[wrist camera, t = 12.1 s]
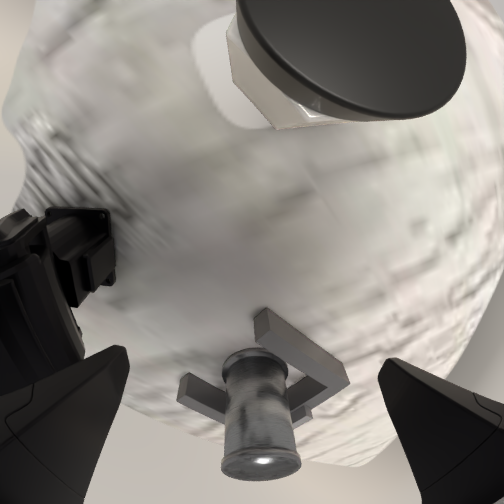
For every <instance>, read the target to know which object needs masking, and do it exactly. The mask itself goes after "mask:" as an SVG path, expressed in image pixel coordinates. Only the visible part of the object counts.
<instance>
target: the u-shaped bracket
mask: <svg viewBox="0 0 504 504" xmlns="http://www.w3.org/2000/svg"><path fill="white" fill-rule="evenodd" d="M254 331H255V342H256V343H257V344H259V345H261V346H262V347H264V348H265V349H267V350H268V351H270V352H271V353H273V354H274V355H276V356H277V357H279V358H281V359H282V360H284V361H285V362H287V363H288V364H290V365H292V366H293V367H295V368H297V369H298V370H300V371H301V372H303V373H305V374H306V375H308V376H306V377H305V378H303V379H302V380H301V381H299V382H298V383H296V384H295V385H293V386H292V387H290V388H289V389H287V396H288V402H289V408H290V414H291V420H292V426H293V429H295V428H297V427H299V426H301V425H302V424H304V423H306V422H308V421H309V420H311V419H313V417H312V412H311V409H313V408H314V407H316V406H318V405H319V404H321V403H322V402H324V401H326V400H327V399H329V398H330V397H332V396H333V395H335V394H336V393H338V392H339V391H341V390H342V389H344V388H345V387H347V386H348V385H349V384H350V381H349V379H348V376H347V374H346V371H345V369H344V366H343V364H342V362H340V361H339V360H337V359H336V358H335V357H333V356H332V355H330V354H329V353H328V352H326V351H325V350H324V349H322V348H321V347H319V346H318V345H317V344H315V343H314V342H313V341H311V340H310V339H309V338H307V337H306V336H304V335H303V334H302V333H300V332H299V331H298V330H296V329H295V328H294V327H292V326H291V325H290V324H288V323H287V322H286V321H284V320H283V319H282V318H280V317H279V316H278V315H276V314H275V313H274V312H272V311H271V310H270V309H268V308H266V309H265V310H263V311H262V312H261V313H260V314H259V315H258V316H257V317H255V318H254ZM176 401H177V402H179V403H181V404H183V405H185V406H187V407H189V408H190V409H192V410H195V411H197V412H199V413H201V414H203V415H205V416H207V417H209V418H211V419H213V420H216V421H218V422H220V423H222V424H225V411H226V393H225V392H223V391H221V390H219V389H218V388H216V387H214V386H212V385H210V384H208V383H207V382H205V381H203V380H201V379H200V378H198V377H196V376H194V375H193V374H191V373H188V374H187V375H185V376H184V377H183V378H182V379H181V380H180V385H179V390H178V395H177V400H176Z"/></svg>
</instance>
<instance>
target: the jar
mask: <svg viewBox="0 0 504 504" xmlns="http://www.w3.org/2000/svg"><path fill="white" fill-rule="evenodd" d="M236 9H237V11H236V13H235V15H234V17H233V19H232V22H231V23H230V25H229V27H228V30H227V32H226V37H227V44H228V51H229V57H230V65H231V72H232V79H233V83H234V84H235V85H236V86H237V87H238V88H239V89H240V90H241V91H242V92H243V93H244V94H245V95H246V96H247V98H248V99H249V100H250V101H251V102H252V103H253V104H254V105H255V106H256V107H257V109H258V110H259V111H260V112H261V113H262V114H263V115H264V117H265V118H266V119H267V120H268V121H269V122H270V124H271V125H272V126H273V127H274V128H275V129H276V130H282V129H290V128H298V127H307V126H317V125H328V124H340V123H349V122H368V121H385V120H406V119H414V118H419V117H422V116H425V115H428V114H431V113H433V112H435V111H437V110H438V109H440V108H441V107H443V106H444V105H445V104H446V103H447V102H449V101H450V100H451V98H452V97H453V96H454V95H455V93H456V91H457V90H458V88H459V86H460V84H461V82H462V79H463V76H464V72H465V67H466V43H465V37H464V33H463V29H462V26H461V23H460V20H459V18H458V15H457V13H456V11H455V9H454V7H453V5H452V3H451V2H450V0H236Z"/></svg>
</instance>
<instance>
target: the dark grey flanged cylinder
mask: <svg viewBox="0 0 504 504" xmlns="http://www.w3.org/2000/svg"><path fill="white" fill-rule="evenodd" d="M287 376H288V368H287V363H286V362H285V361H284V360H282V359H281V358H279V357H277V356H276V355H274V354H273V353H271V352H270V351H268V350H267V349H264V348H249V349H244V350H241V351H238V352H236V353H234V354H232V355H231V356H230V357H229V358H228V359H227V360H226V361H225V363H224V365H223V369H222V377H223V380H224V382H225V383H226V411H225V446H224V449H225V450H224V457H223V459H222V461H221V470H222V472H223V473H224V474H225V475H227V476H228V477H231V478H234V479H238V480H244V481H268V480H274V479H279V478H283V477H286V476H289V475H291V474H293V473H295V472H296V471H298V470H299V469H300V468H301V459H300V455H299V454H298V453H297V451H296V444H295V438H294V432H293V426H292V420H291V414H290V408H289V402H288V396H287V390H286V384H285V380H286V379H287Z"/></svg>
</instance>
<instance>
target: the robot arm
mask: <svg viewBox="0 0 504 504" xmlns="http://www.w3.org/2000/svg"><path fill="white" fill-rule="evenodd" d="M50 212H51V215H50ZM102 213H103V214H104V215H105V218H103V217H102ZM115 267H116V264H115V254H114V242H113V237H112V236H111V226H110V213H109V211H108V210H107V209H100V208H73V207H49V208H47V209H46V211H45V216H43V217H32V215H29V214H28V213H27V211H26V210H25V209H20V210H17V211H15V212H13V213H11V214H9V215H7V216H5V217H3V218H1V219H0V504H83V502H84V498H85V496H86V492H87V489H88V487H89V484H90V481H91V478H92V475H93V472H94V470H95V467H96V464H97V461H98V459H99V456H100V453H101V451H102V448H103V445H104V443H105V440H106V438H107V435H108V432H109V430H110V428H111V425H112V423H113V420H114V418H115V415H116V413H117V410H118V408H119V405H120V402H121V399H122V395H123V392H124V388H125V384H126V381H127V377H128V374H129V369H130V364H129V359H128V355H127V351H126V348H125V347H124V346H119V345H113V346H110V347H108V348H106V349H104V350H102V351H100V352H98V353H96V354H94V355H92V356H90V357H88V358H86V359H84V355H85V348H84V343H83V341H82V332H81V329H80V327H78V325H77V323H76V320H75V318H74V315H73V313H72V310H71V307H74V308H78V307H79V305H80V304H81V303H82V302H83V300H84V299H85V298H86V297H87V295H88V294H89V293H90V292H91V293H94V292H95V291H96V290H97V288H98V287H99V286H100V285H103V286H112V285H113V284H114V283H115V272H114V268H115ZM108 278H109V279H110V280H111V281H109V280H108ZM378 382H379V385H380V389H381V392H382V395H383V398H384V402H385V405H386V408H387V411H388V413H389V416H390V418H391V420H392V423H393V425H394V427H395V430H396V432H397V434H398V437H399V439H400V442H401V444H402V447H403V449H404V452H405V454H406V457H407V459H408V461H409V464H410V467H411V469H412V472H413V475H414V477H415V480H416V483H417V486H418V488H419V491H420V494H421V498H422V504H504V404H502V403H500V402H496V401H494V400H491V399H489V398H486V397H484V396H481V395H479V394H477V393H474V392H473V393H472V392H471V391H469V390H467V389H464V388H462V387H460V386H457V385H455V384H453V383H451V382H448V381H446V380H444V379H442V378H440V377H437V376H435V375H433V374H431V373H429V372H426V371H424V370H422V369H420V368H418V367H416V366H413V365H411V364H409V363H407V362H405V361H403V360H401V359H399V358H388V359H386V360H385V362H384V364H383V366H382V368H381V370H380V372H379V374H378Z"/></svg>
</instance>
